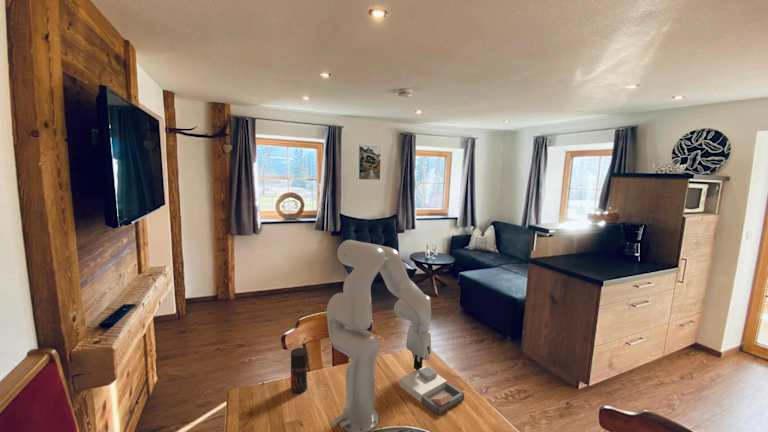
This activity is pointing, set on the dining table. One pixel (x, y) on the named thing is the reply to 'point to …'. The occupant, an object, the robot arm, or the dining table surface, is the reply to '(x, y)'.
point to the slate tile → (427, 373)
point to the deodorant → (298, 370)
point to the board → (421, 385)
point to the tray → (439, 409)
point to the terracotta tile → (441, 399)
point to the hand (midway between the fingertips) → (417, 368)
